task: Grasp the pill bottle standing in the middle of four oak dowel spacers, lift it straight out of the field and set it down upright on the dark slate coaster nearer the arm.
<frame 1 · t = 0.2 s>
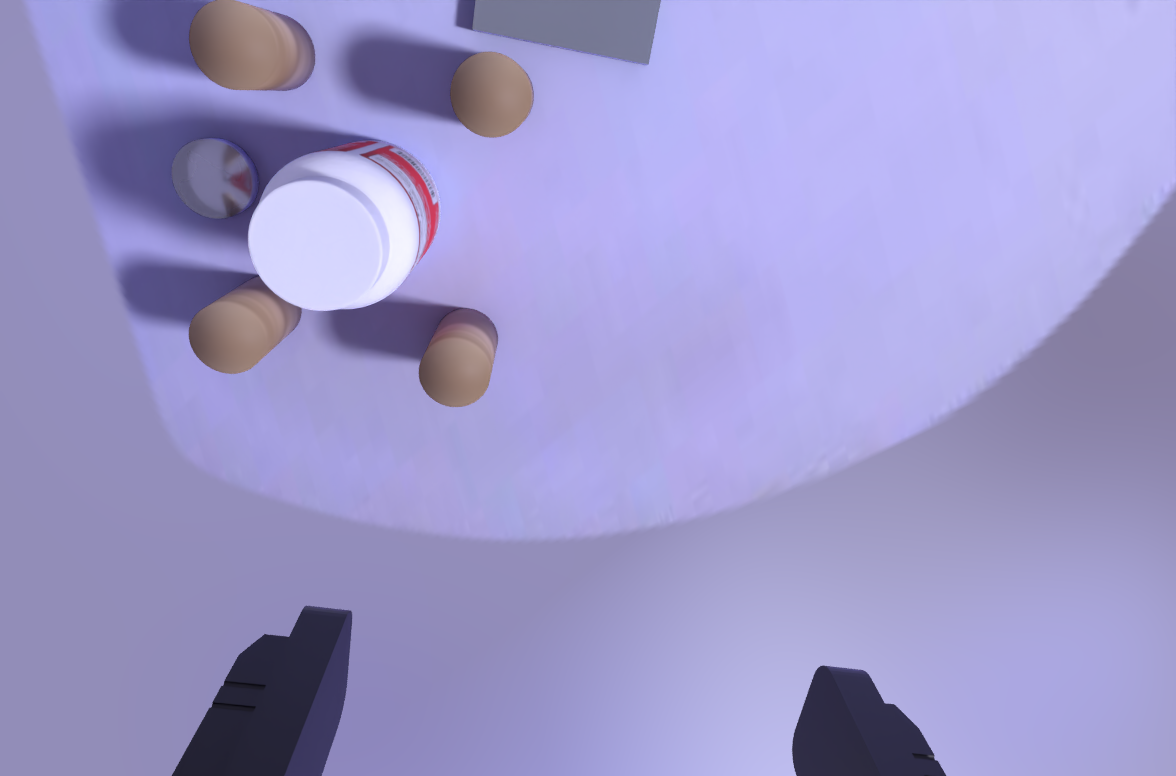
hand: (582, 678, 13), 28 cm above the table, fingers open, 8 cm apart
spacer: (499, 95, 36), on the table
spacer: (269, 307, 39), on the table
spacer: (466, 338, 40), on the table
pill bottle: (380, 204, 38), on the table
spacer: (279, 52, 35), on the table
shiny metal disc: (222, 176, 37), on the table
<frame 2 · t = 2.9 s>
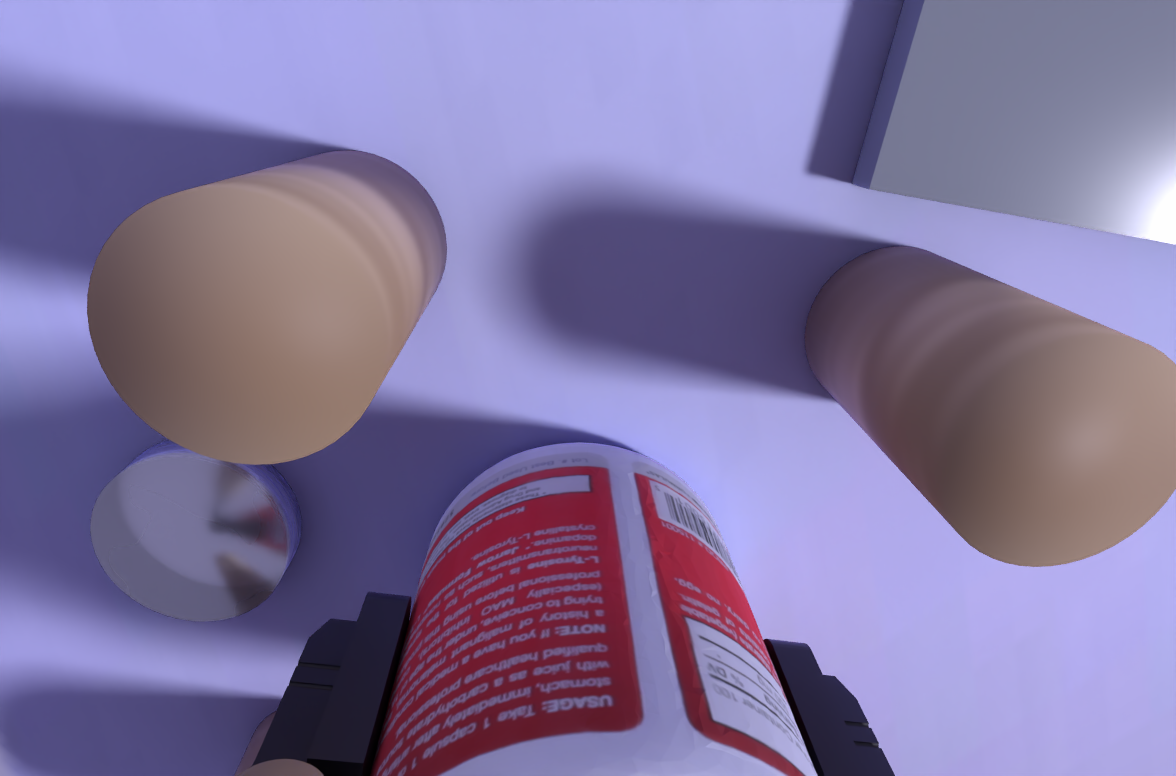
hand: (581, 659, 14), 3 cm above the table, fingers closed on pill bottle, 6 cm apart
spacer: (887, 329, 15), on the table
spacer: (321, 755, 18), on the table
pill bottle: (577, 559, 16), on the table, touching gripper
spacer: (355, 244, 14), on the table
shiny metal disc: (215, 511, 16), on the table
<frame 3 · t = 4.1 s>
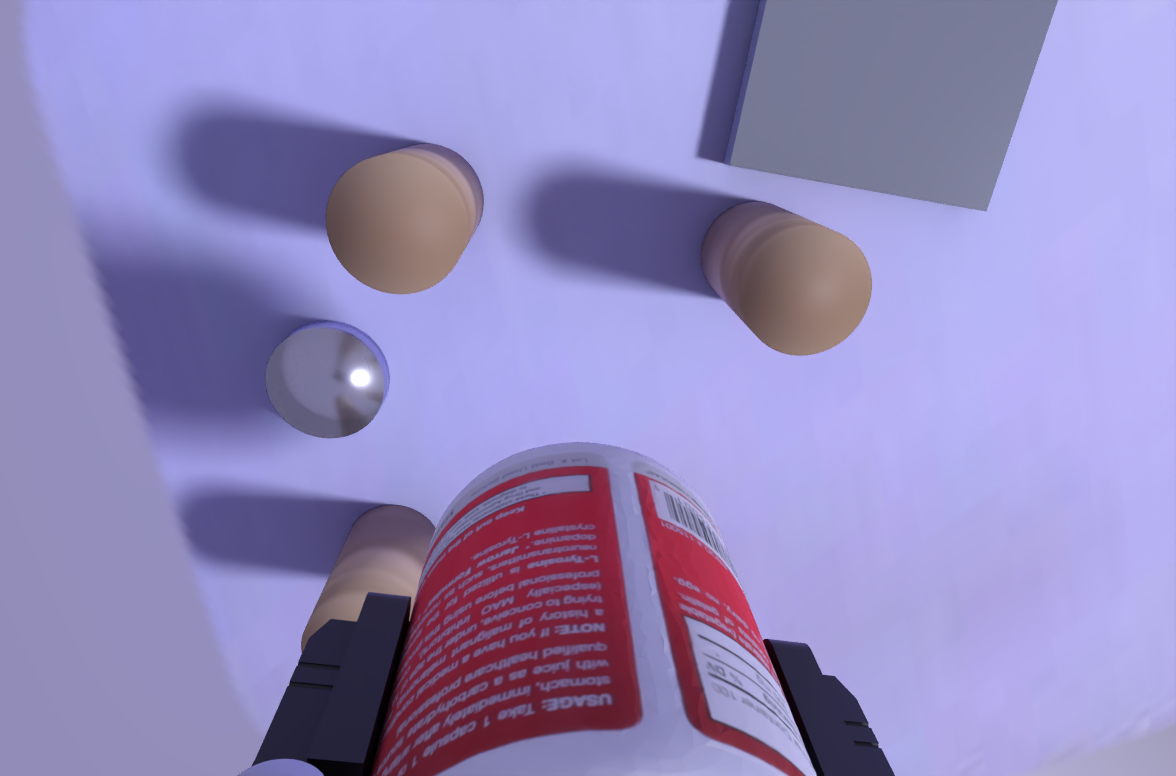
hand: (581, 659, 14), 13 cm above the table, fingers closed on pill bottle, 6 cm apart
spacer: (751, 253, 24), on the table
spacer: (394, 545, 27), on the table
slate coaster: (889, 45, 22), on the table
pill bottle: (576, 558, 16), point 10 cm above the table, touching gripper
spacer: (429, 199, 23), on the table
shiny metal disc: (334, 372, 25), on the table
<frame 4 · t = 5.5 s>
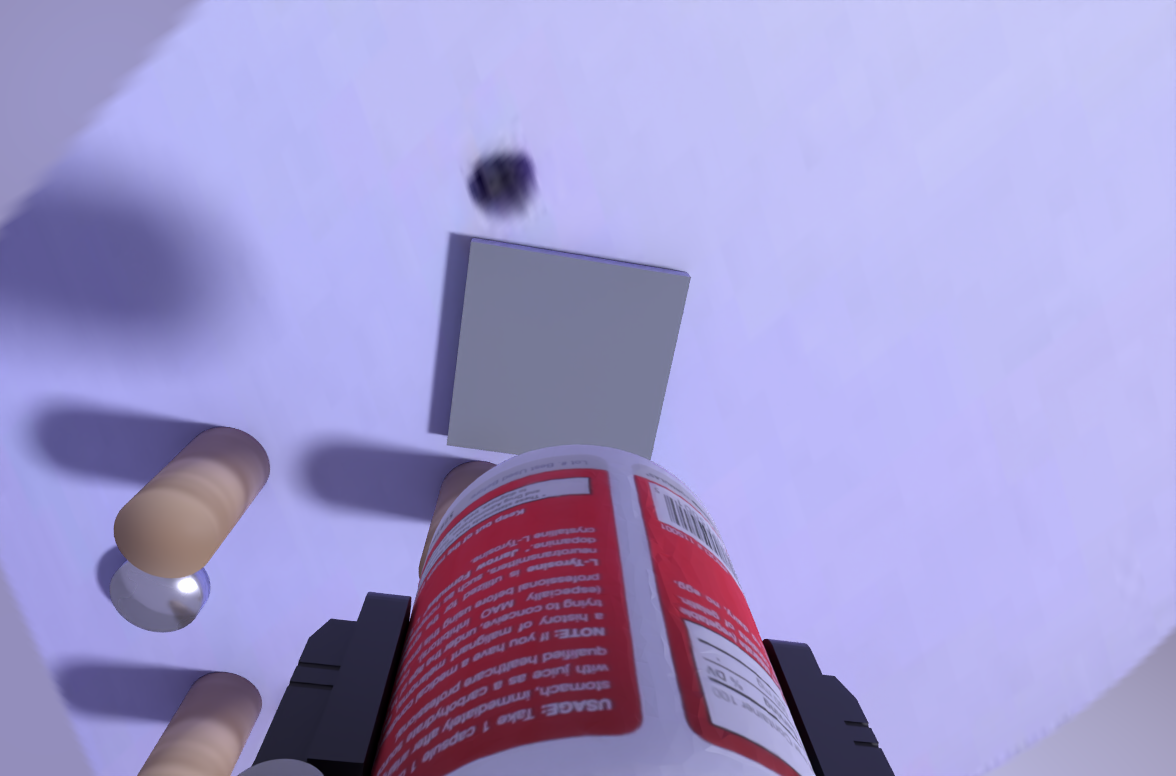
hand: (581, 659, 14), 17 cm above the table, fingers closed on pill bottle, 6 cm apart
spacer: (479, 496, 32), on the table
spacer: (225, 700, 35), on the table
slate coaster: (564, 357, 30), on the table
pill bottle: (576, 560, 16), point 14 cm above the table, touching gripper
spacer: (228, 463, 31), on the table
shiny metal disc: (168, 579, 33), on the table
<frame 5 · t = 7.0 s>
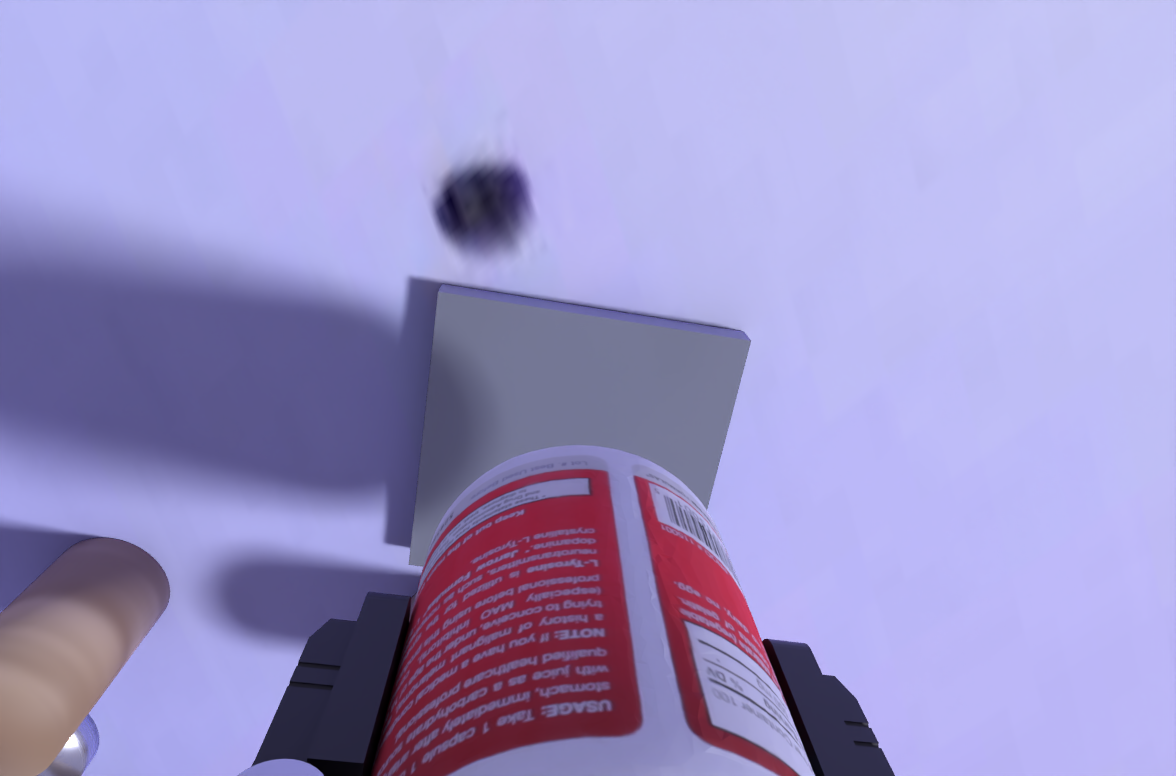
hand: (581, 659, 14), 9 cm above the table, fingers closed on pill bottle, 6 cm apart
slate coaster: (571, 445, 22), on the table
pill bottle: (576, 561, 16), point 6 cm above the table, touching gripper
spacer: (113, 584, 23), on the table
shiny metal disc: (44, 726, 25), on the table
when the fingers open (5 cm above the table, at t = 8.3 s): pill bottle drops 1 cm, resting on slate coaster.
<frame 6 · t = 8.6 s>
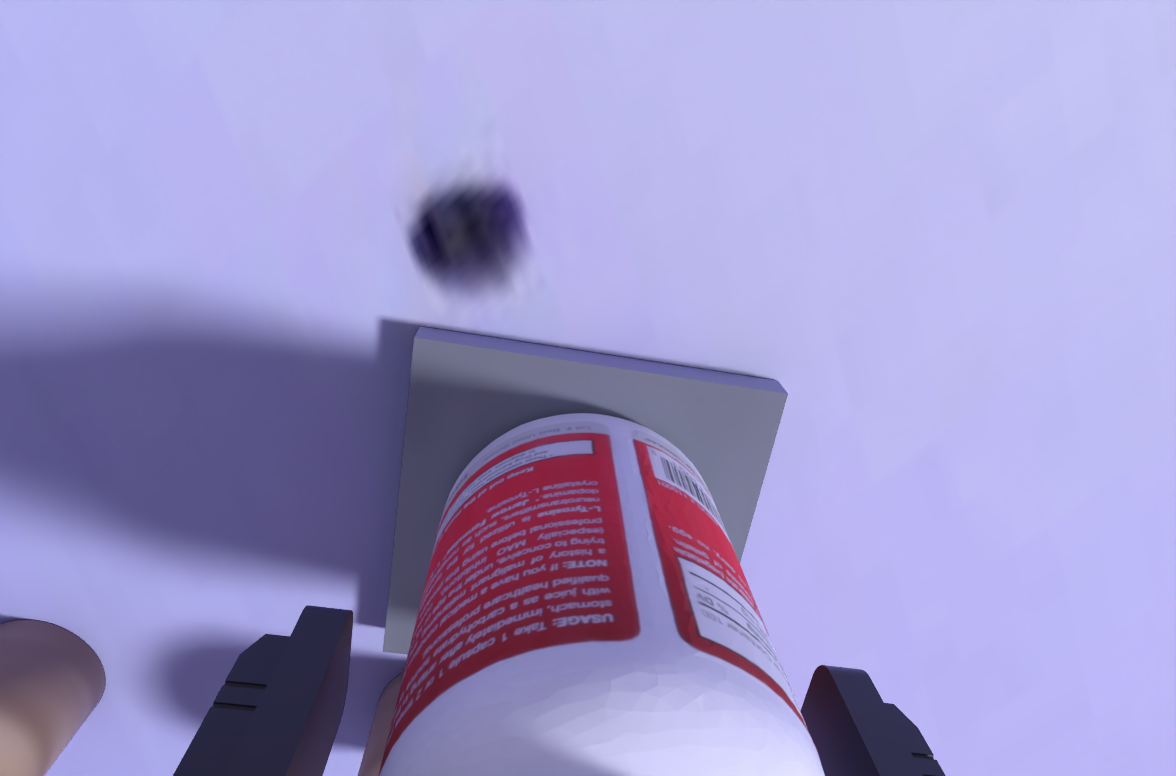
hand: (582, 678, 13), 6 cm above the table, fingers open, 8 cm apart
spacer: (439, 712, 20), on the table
slate coaster: (573, 511, 18), on the table
pill bottle: (579, 523, 18), point 1 cm above the table, touching slate coaster
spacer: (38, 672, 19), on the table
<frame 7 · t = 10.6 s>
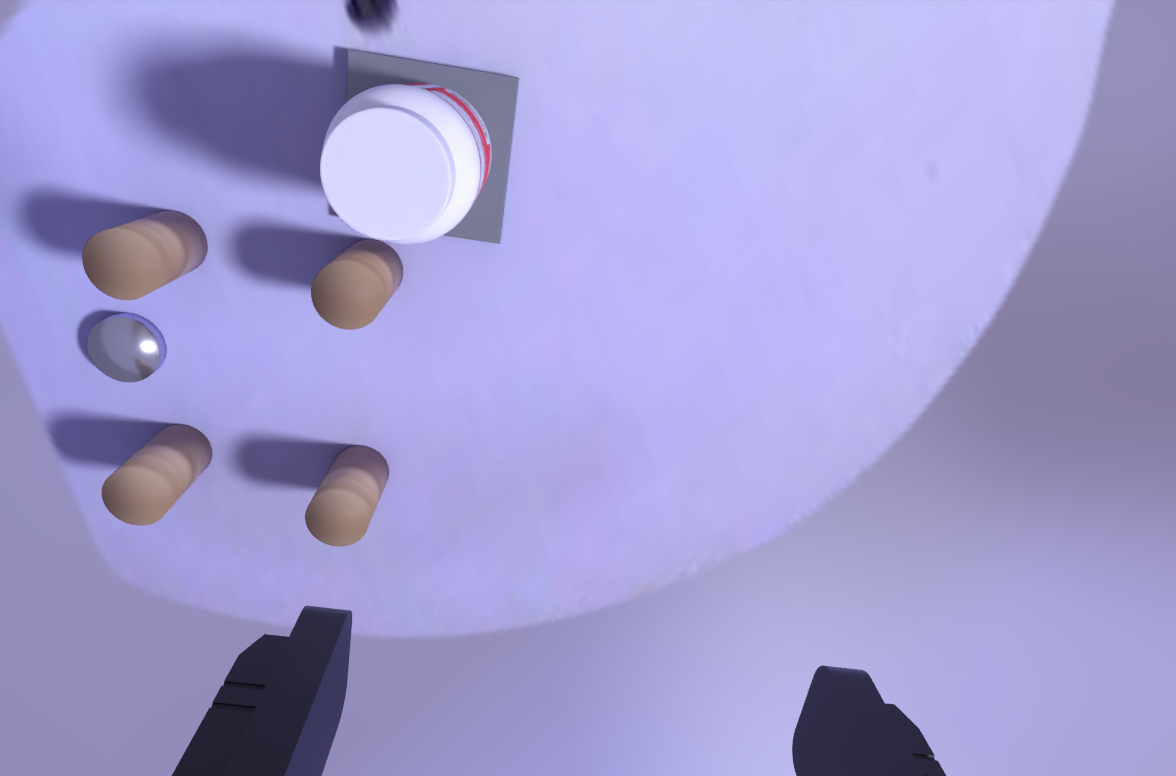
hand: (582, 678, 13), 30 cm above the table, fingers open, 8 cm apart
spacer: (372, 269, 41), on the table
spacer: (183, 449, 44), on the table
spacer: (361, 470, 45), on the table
slate coaster: (429, 149, 39), on the table
pill bottle: (430, 150, 38), point 1 cm above the table, touching slate coaster
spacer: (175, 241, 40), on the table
shiny metal disc: (134, 343, 42), on the table
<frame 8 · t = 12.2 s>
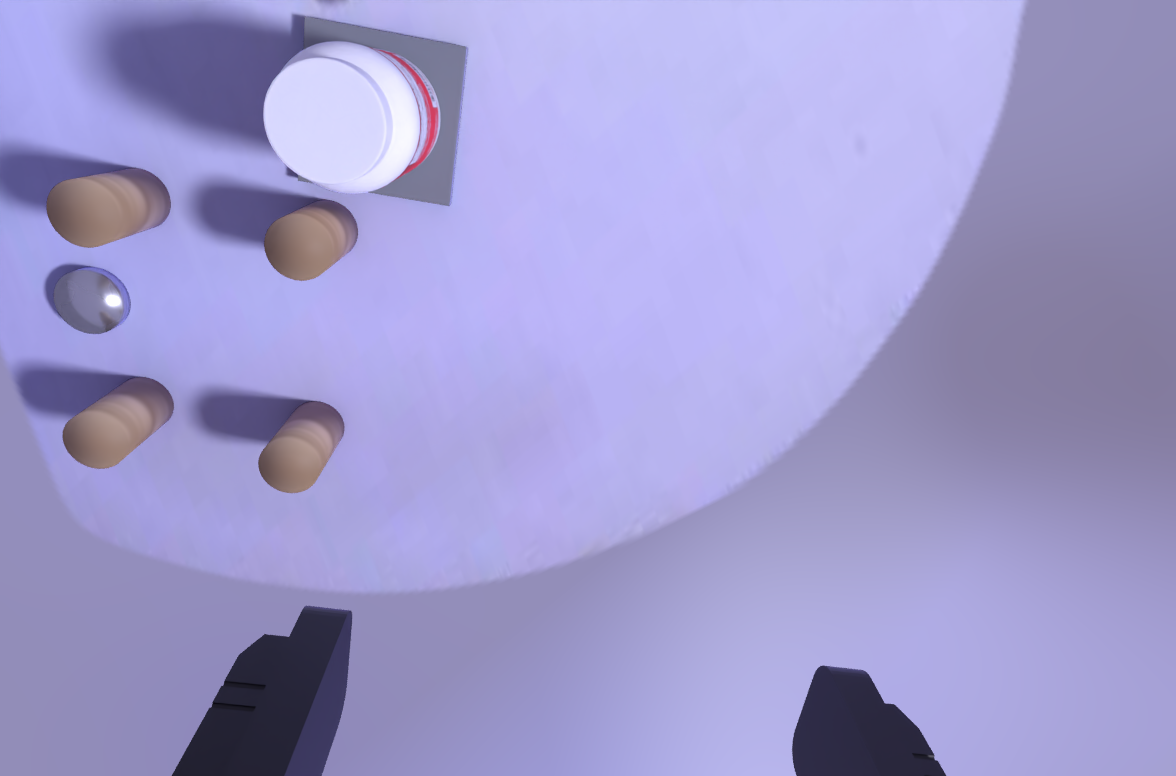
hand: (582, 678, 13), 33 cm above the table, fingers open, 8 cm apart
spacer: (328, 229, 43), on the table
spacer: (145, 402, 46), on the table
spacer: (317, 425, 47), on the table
slate coaster: (383, 114, 41), on the table
pill bottle: (383, 114, 40), point 1 cm above the table, touching slate coaster
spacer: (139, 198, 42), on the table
shiny metal disc: (99, 297, 44), on the table
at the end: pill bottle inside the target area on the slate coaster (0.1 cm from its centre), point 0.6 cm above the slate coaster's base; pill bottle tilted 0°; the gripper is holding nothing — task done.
